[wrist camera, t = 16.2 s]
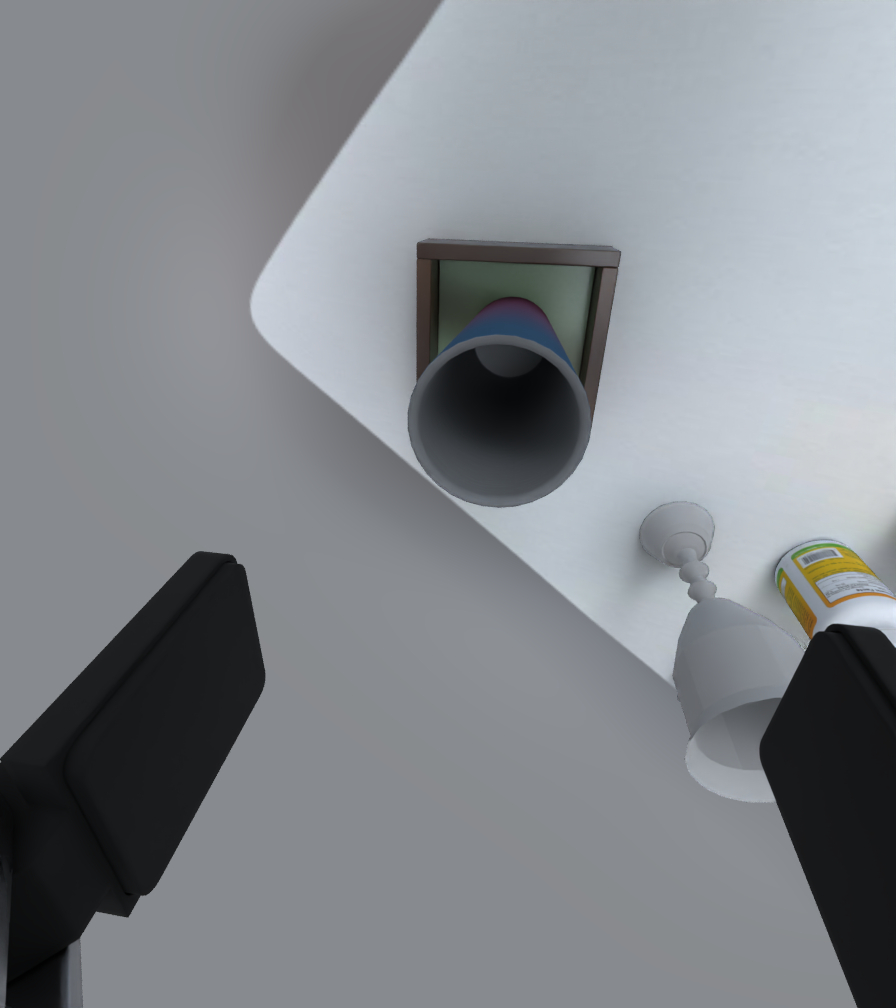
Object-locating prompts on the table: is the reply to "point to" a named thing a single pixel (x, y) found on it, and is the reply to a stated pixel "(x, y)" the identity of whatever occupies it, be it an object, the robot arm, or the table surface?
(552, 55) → the table surface
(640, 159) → the table surface
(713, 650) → the chalice
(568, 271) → the brown wooden tray
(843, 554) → the supplement bottle
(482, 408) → the cup
